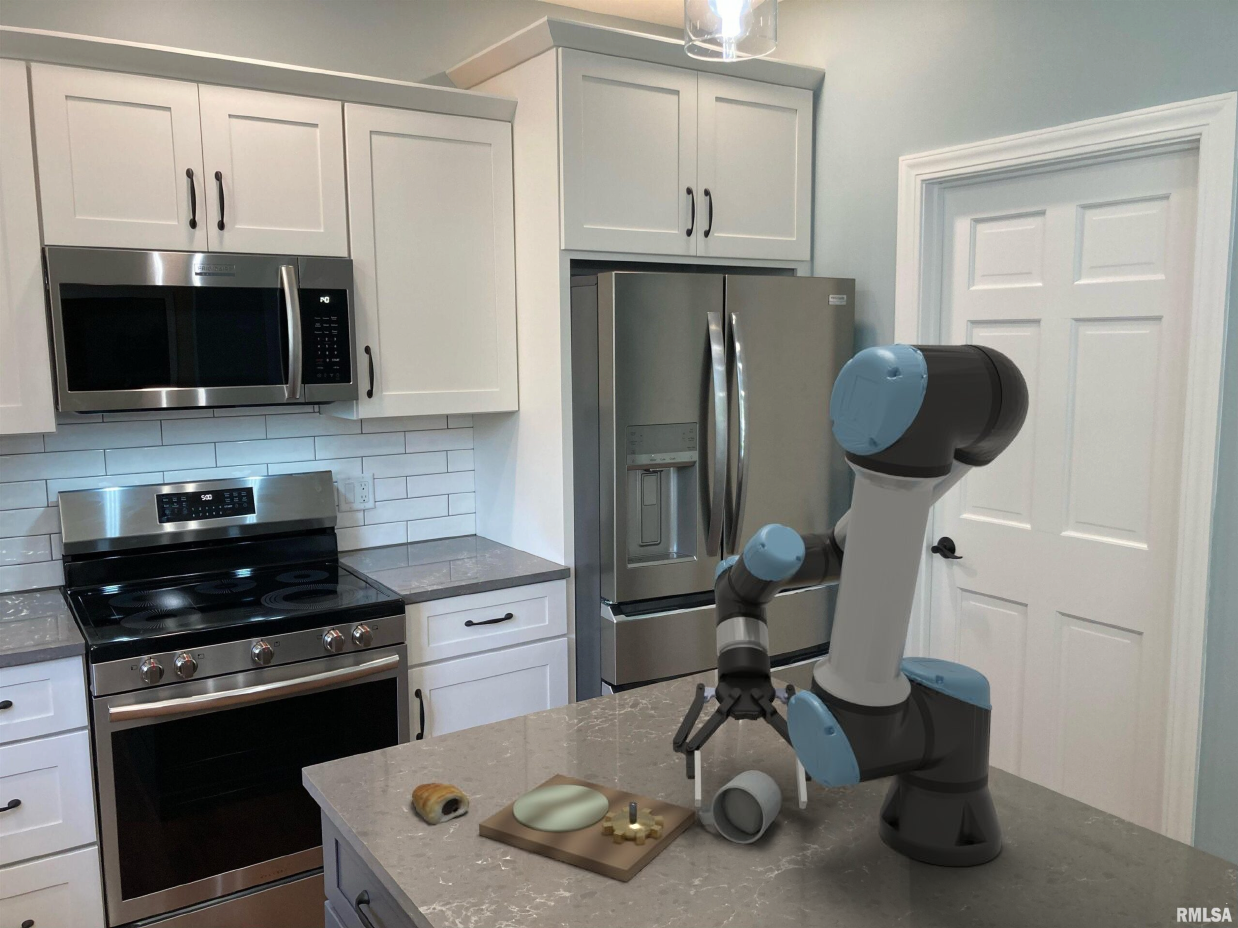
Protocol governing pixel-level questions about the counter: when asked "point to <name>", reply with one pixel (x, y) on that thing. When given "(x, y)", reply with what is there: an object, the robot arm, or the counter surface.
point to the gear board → (583, 826)
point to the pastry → (439, 802)
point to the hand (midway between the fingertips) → (750, 804)
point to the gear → (633, 825)
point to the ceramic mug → (744, 807)
